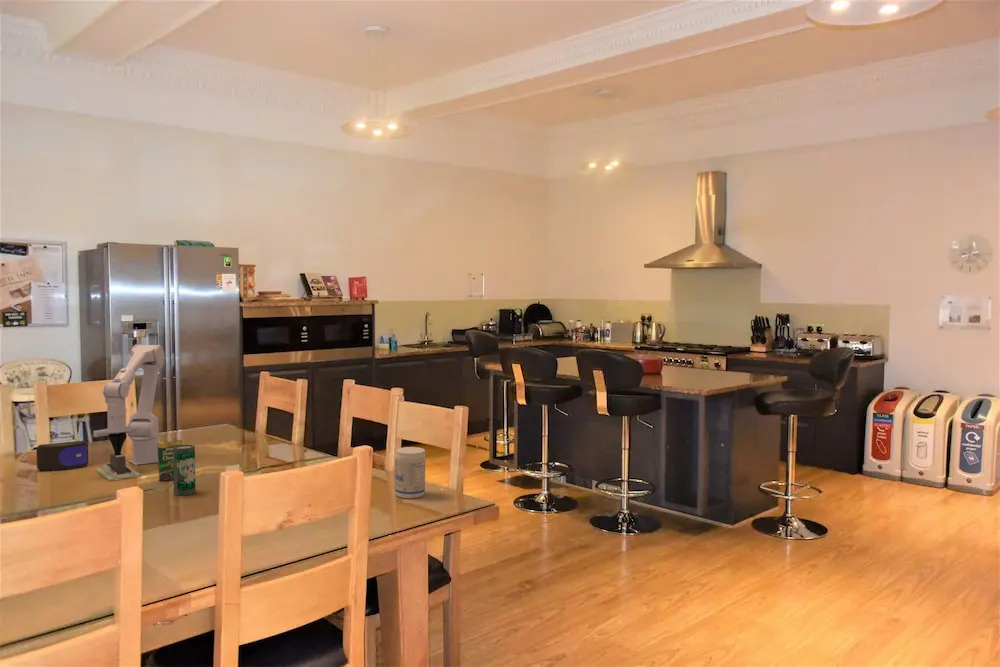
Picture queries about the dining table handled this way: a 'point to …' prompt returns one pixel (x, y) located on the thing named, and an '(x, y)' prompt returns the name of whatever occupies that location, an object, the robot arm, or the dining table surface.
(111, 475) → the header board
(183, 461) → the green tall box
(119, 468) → the brown block
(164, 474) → the coffee box
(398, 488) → the supplement tub
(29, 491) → the dining table surface
